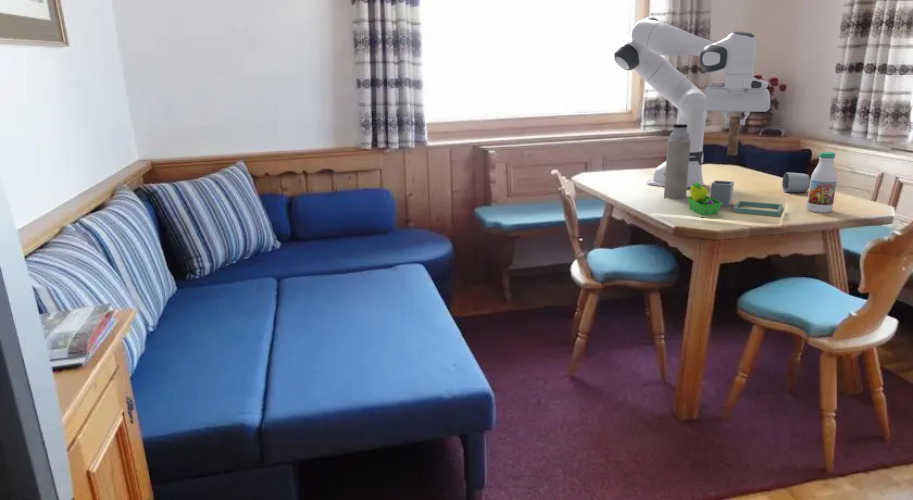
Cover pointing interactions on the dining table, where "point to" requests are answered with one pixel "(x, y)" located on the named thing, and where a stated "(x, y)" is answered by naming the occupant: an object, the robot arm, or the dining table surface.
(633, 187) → the dining table surface
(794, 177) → the ceramic mug
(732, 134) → the dowel pin
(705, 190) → the fruit basket
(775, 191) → the dining table surface
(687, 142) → the thermos bottle
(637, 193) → the dining table surface
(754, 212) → the tray
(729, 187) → the pen cup
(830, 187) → the milk bottle
